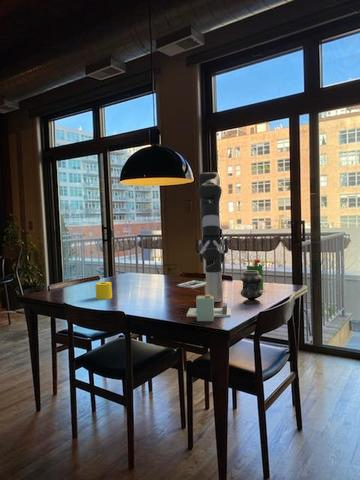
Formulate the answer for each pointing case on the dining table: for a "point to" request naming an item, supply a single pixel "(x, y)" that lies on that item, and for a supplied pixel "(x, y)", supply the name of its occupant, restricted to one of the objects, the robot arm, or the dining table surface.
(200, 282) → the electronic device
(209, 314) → the block
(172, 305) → the dining table surface
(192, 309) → the din plate
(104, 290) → the yellow cylindrical piece
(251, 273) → the apothecary jar
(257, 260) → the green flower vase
